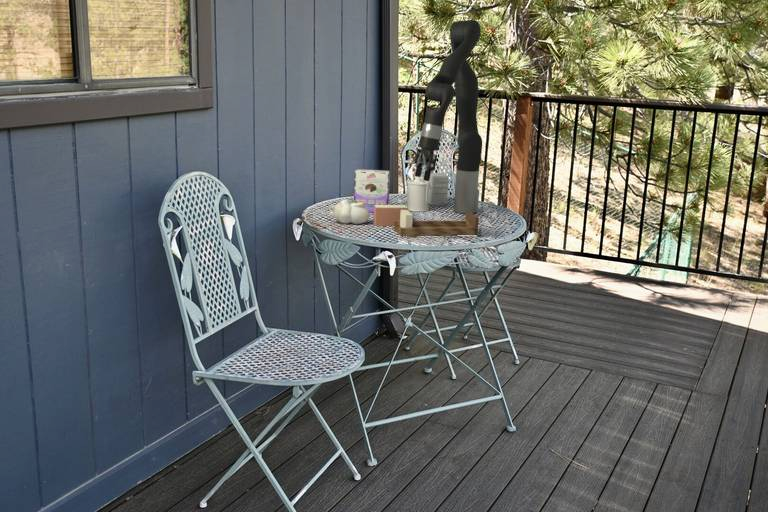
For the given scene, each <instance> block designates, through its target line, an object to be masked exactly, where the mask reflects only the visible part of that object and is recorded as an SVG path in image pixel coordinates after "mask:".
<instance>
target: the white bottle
mask: <svg viewBox="0 0 768 512" xmlns="http://www.w3.org/2000/svg"><path fill="white" fill-rule="evenodd" d="M415 172H416V169H415V171H414V173H415ZM423 173H424V172H423V171H422V172H421V176H420V177H416V176H415V175H414V179H409V180H407V181H406V183H407V190H406V206H407V207H408V210H409V211H410V212H416V213H423V212H428V211H429V203H428V197H429V184H430V182H428V181H424V180H423V178H424V175H423Z"/></svg>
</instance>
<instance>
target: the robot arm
mask: <svg viewBox="0 0 768 512" xmlns="http://www.w3.org/2000/svg"><path fill="white" fill-rule="evenodd" d="M481 35H482V29H481V25H480V22H478V21H477V20H475V19H467V20H456V21H453V22H451V25H450V29H449V36H450V37H449V39H450V40H449V41H450V46H451V53H449V55H448V56H447V57H446V58H445V59H444V61H442V64H441V66H440V69H439V70H438V73H437V74H436V75H435V76H434V77H433V78H432V79H431V80H430V81H429V83H428V84H427V86H426V89H425V97H426V99H427V100H428V101H432V102H437V103H441V104H440V105H439V106H438V107H428V108H427V109H426V112H425V116H424V121H423V122H424V123H423V125H422V129H421V131H420V132H421V133H420V137H419V143H418V147H419V148H417V150H416V155H415V159H414V164H415V166H416V168H415V170H416V172H415V171H414V177H415V176H416V177H420V176H421V172H423V167H425V170H424V172H423V173H424V175H423V177H424V178H423V179H422V180H424V181H429V179H430V175H431V173H432V172H433V171H435V169H436V165H437V159H438V154H435V153H434V152H436V151H438V150H439V147H440V142H441V137H442V133H443V126H444V125H443V124H444V121H445V117H446V114H447V110H448V109H449V107H450V105H451V102H453V99H454V97H455V103H456V110H457V117H458V119H457V120H458V121H457V122H458V123H457V126H458V128H457V129H458V131H457V145H458V155H457V162H456V171H455V182H454V185H455V186H454V196H453V197H454V199H453V201H454V202H453V212H455V213H459V214H466V211H470V212H471V213H473V214H475V213H474V212H478V210H479V201H480V200H479V197H480V189H479V179H480V178H479V176H480V166H481V163H482V152H483V139H482V136H481V134H480V133H479V130H478V129H479V128H478V120H477V112H478V105H479V80H478V79H479V78H478V76H477V74H476V73H475V71H474V69H473V68H472V66H471V65H470V63H469V61H468V60H467V58H468V57H469V56H470V54H471V53H472V52H473V50H474V49H475V47H476V46H477V44H478V43H479V42H480V41H479V40H480V38H481ZM453 84H454V86H453Z"/></svg>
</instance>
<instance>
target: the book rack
mask: <svg viewBox="0 0 768 512" xmlns="http://www.w3.org/2000/svg"><path fill="white" fill-rule="evenodd" d="M464 218H465V219H464V220H412V228H401V227H400V220H394V226H393V230H394V231H395V233H396V234H398V235H400V236H402V237H401V238H418V237H417V236H457V235H478V234H479V225H480V224H479V222H480V218H479V217H478V216H477V215H475V213H471V212H470V211H466V213H465V215H464ZM400 236H399V237H400ZM403 236H405V237H403ZM406 236H407V237H406ZM478 236H479V235H478Z"/></svg>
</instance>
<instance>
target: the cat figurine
mask: <svg viewBox="0 0 768 512" xmlns="http://www.w3.org/2000/svg"><path fill="white" fill-rule="evenodd" d="M351 202H352V203H351ZM351 202H350V201H349V200H348V199H345V198H344V199H342V200H341V201H340V202H338V203H337V204H332V205H330V209H331V211H329V213H328V214H329V216H330V217H333V218H334V219H335V220H336V221H337V222H339V223H342V224H345V225H346V224H352V225H360V224H361V225H362V224H363V223H366V222H367V221H368V220H369V219H370V217H371V214H370V213H371V212H369V211H368V210H367V209H366V208H365V207H364V203H363V201H361V200H354V198H353V199H351ZM354 202H355V203H354Z"/></svg>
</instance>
